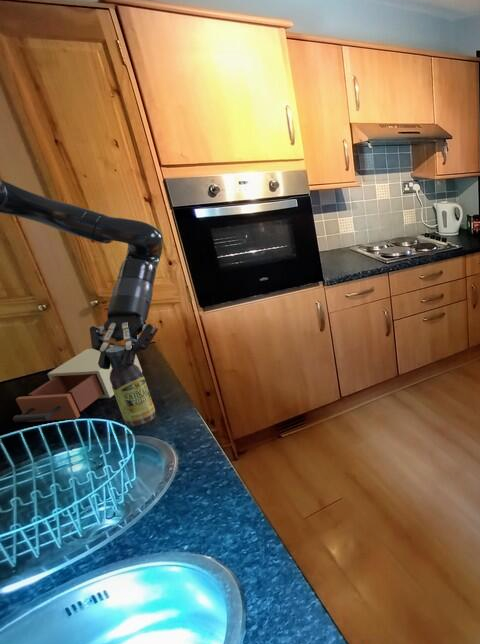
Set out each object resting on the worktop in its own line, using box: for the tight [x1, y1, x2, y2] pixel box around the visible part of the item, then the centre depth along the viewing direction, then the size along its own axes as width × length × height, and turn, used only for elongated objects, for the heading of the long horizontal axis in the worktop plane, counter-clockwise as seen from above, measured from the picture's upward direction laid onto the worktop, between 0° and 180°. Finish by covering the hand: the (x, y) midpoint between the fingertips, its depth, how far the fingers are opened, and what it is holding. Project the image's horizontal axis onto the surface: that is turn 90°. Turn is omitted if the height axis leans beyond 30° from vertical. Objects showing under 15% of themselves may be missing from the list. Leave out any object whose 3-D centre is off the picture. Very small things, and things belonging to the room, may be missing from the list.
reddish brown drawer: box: [12, 374, 104, 423], centre depth 118 cm, size 19×12×7 cm, turn 7°
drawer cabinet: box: [46, 348, 143, 400], centre depth 131 cm, size 15×13×9 cm
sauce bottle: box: [106, 344, 156, 427], centre depth 108 cm, size 7×6×20 cm
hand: (115, 367), depth 104 cm, fingers closed on sauce bottle, 4 cm apart
